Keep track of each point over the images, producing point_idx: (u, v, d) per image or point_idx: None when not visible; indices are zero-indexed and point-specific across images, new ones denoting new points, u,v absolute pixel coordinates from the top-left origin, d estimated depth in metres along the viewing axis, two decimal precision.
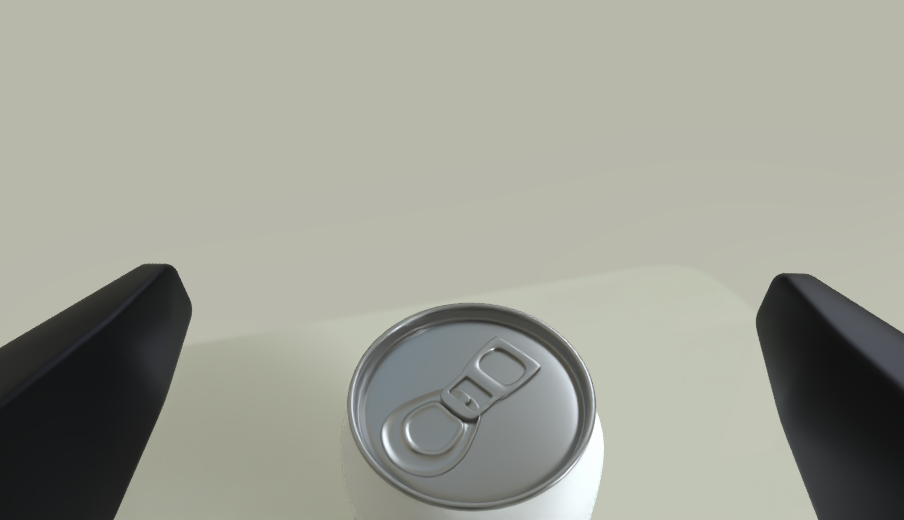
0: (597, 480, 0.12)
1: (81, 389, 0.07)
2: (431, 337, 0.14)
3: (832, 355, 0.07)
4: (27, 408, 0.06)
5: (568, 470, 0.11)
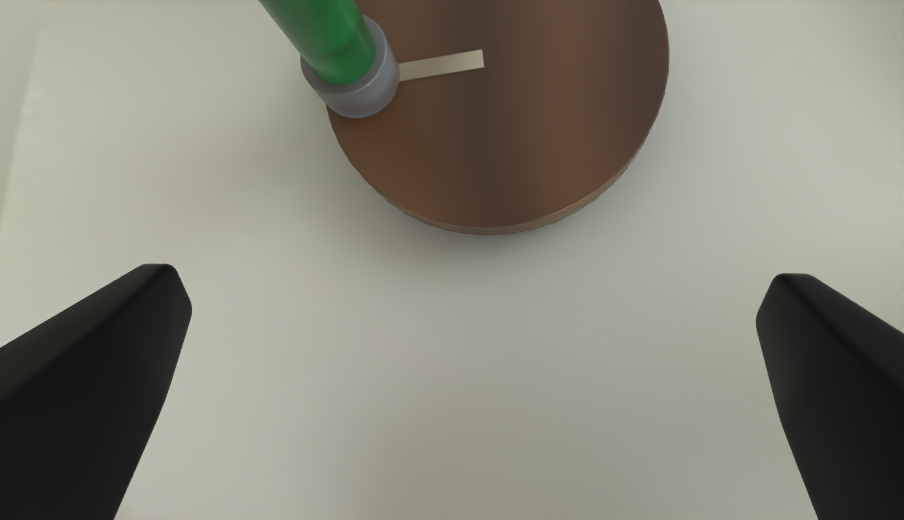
0: None
1: (81, 389, 0.07)
2: None
3: (832, 355, 0.07)
4: (27, 409, 0.06)
5: None
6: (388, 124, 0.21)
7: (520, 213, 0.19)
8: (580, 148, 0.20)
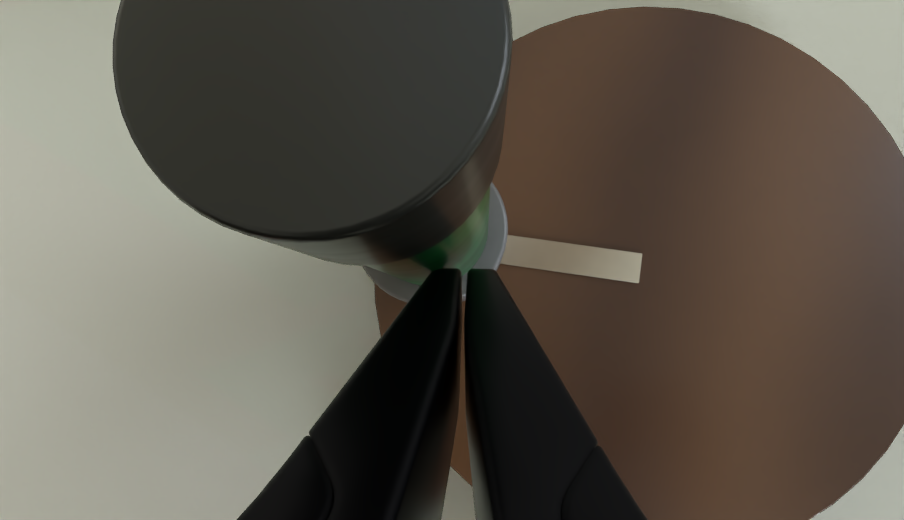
0: None
1: (443, 400, 0.06)
2: None
3: (465, 346, 0.07)
4: (430, 421, 0.06)
5: None
6: None
7: None
8: (755, 466, 0.12)
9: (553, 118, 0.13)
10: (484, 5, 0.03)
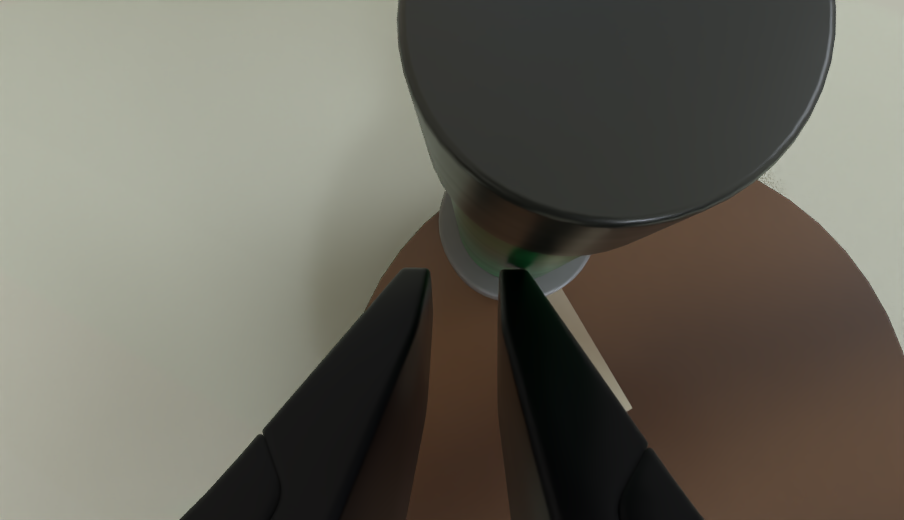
0: None
1: (404, 399, 0.06)
2: None
3: (502, 347, 0.07)
4: (386, 420, 0.06)
5: None
6: (459, 311, 0.13)
7: None
8: None
9: (687, 249, 0.13)
10: (765, 135, 0.03)
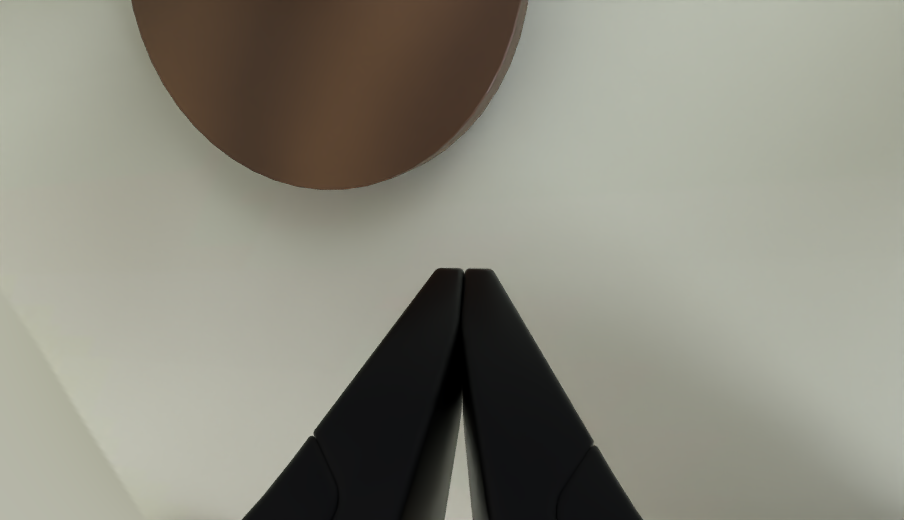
0: None
1: (447, 400, 0.06)
2: None
3: (462, 346, 0.07)
4: (434, 421, 0.06)
5: None
6: None
7: (266, 167, 0.19)
8: (347, 140, 0.18)
9: None
10: None
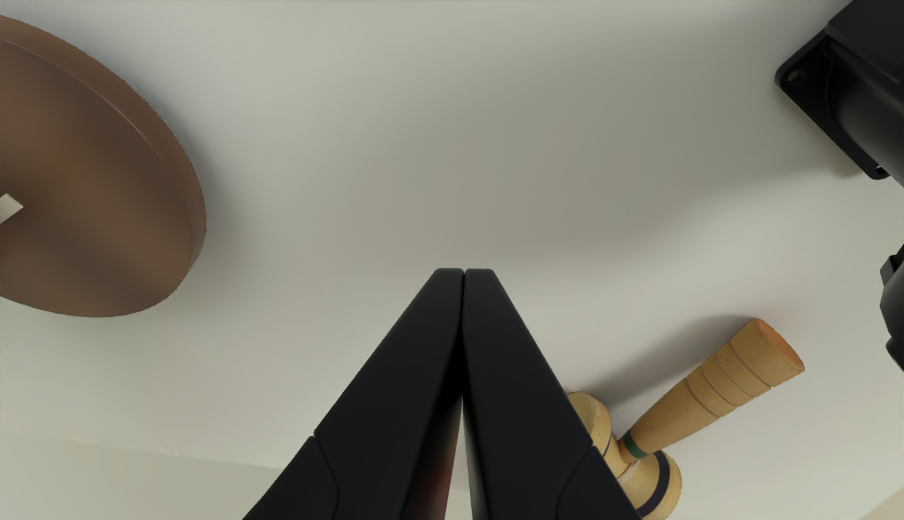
0: None
1: (447, 400, 0.06)
2: None
3: (462, 346, 0.07)
4: (434, 421, 0.06)
5: None
6: (8, 271, 0.23)
7: (154, 296, 0.24)
8: (152, 242, 0.22)
9: None
10: None
